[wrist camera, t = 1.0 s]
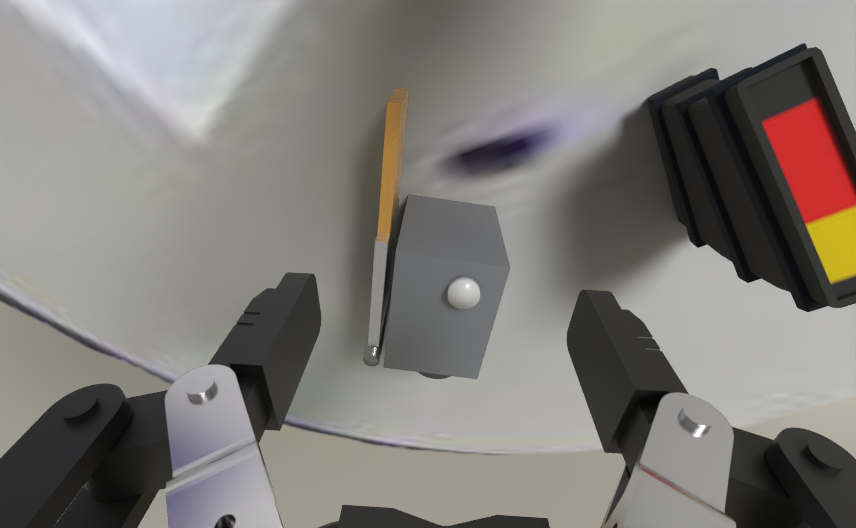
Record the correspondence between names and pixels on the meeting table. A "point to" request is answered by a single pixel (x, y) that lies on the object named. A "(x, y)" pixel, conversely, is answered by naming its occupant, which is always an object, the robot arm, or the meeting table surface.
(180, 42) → the meeting table surface
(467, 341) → the grey box with knob
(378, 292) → the orange and gray panel
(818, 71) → the black ribbed block
